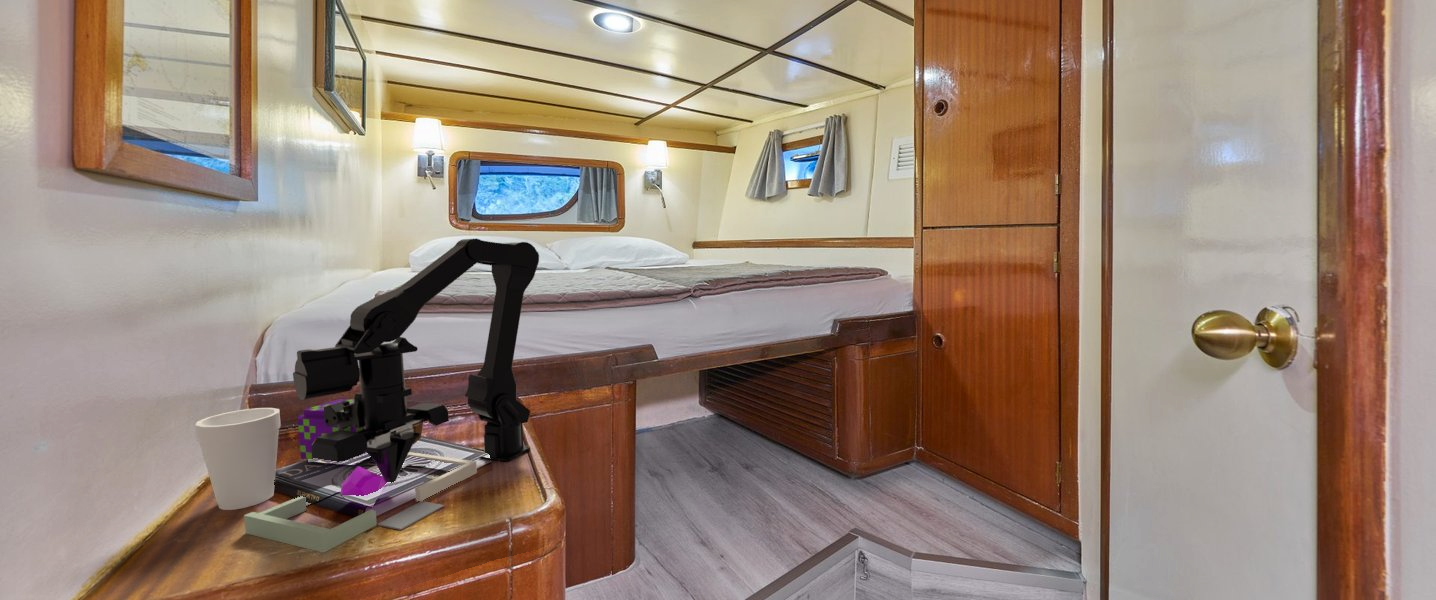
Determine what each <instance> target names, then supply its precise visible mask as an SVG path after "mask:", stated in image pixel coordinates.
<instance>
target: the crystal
mask: <svg viewBox="0 0 1436 600" xmlns="http://www.w3.org/2000/svg"><path fill="white" fill-rule="evenodd" d="M386 483H387V481H386V480H385V479H384V477H382V476H380V475H377V474H375V473H373V472H370V471H368V470H366V468H363V467H362V466H359V465H358V466H356V467H355V469H354V470H352V472H351V473H350V474H349V475H348V476H347V478H345V479H344V481H343V482H342V483H341V486H342V488H341V492H340V495H341V494H342V495H356V496H359V495H361V496H364V495H368V494H370V493H373V492H376V491H378V490H379V489H381V488H382V487H383V486H384V485H385V484H386ZM387 484H388V483H387Z"/></svg>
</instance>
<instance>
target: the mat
mask: <svg viewBox="0 0 1436 600" xmlns="http://www.w3.org/2000/svg"><path fill="white" fill-rule="evenodd" d="M444 507H445V505H444V504H440V503H435V502H429V501H425V500H424V501H421V502H417V503H415V504H414V505H411V506H409V507H407V508H405V509H403V510H402V511H399V512H398V513H395V514H394V515H392V516H390V517H389V518H386V519H384V520H382V521H381V522H378V523H377V526H379V527H384V528H388V529H395V530H399V531H403V530H404V529H406V528H408V527H409V526H412V525H413V524H415V523H417V522H419V521H420V520H422V519H424V518H426V517H428V516H430V515H431V514H433V513H435V512H436V511H439V510H440V509H442V508H444Z"/></svg>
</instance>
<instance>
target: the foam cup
mask: <svg viewBox="0 0 1436 600" xmlns="http://www.w3.org/2000/svg"><path fill="white" fill-rule="evenodd" d="M281 423H282V422H281V415H280V408H274V407H256V408H246V409H238V410H233V411H229V412H223V413H220V414H215V415H212V416H208V417H204V418H202V419H200V420H197V421H196V423H195V435H196V442H199V443H198V444H199V445H200V450H201V452H202V453H201V454H202V456H203V459H204V463H205V466H206V469H207V473H208V476H209V477H208V478H209V479H210V483H211V486H212V490H213V493H214V496H215V500H216V503H217V505H218V509H220V510H223V511H224V510H225V511H232V510H239V509H245V508H249V507H251V506H255V505H259V504H261V503H263V502H266V501H268V500H270V499H271V498H273V496H274V495H275V494H274V492H275V485H274V482H275V483H276V470H277V457H278V446H279V444H278V443H279V433H280V431H279V430H280V428H281V426H282V425H281ZM274 480H275V481H274Z"/></svg>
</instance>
